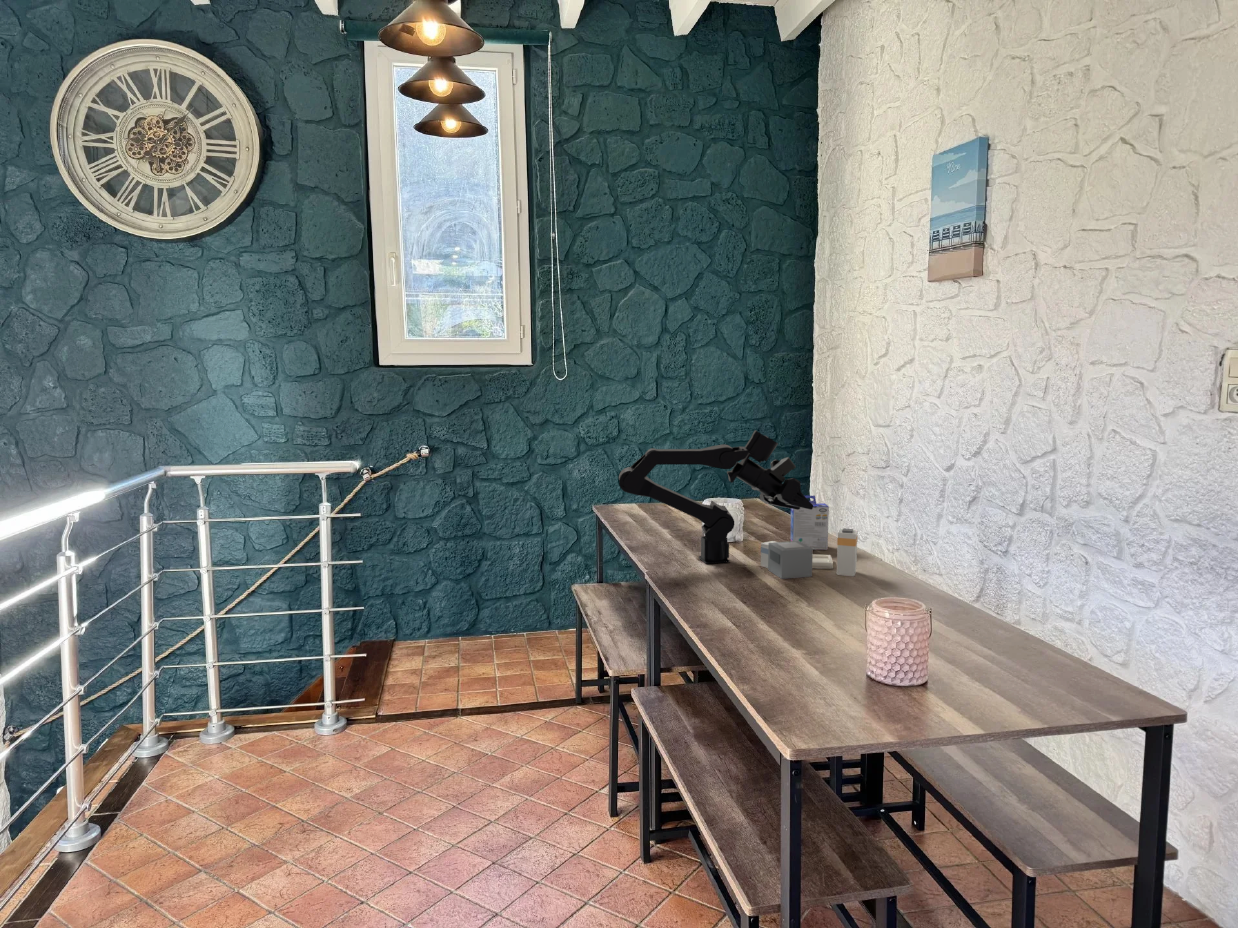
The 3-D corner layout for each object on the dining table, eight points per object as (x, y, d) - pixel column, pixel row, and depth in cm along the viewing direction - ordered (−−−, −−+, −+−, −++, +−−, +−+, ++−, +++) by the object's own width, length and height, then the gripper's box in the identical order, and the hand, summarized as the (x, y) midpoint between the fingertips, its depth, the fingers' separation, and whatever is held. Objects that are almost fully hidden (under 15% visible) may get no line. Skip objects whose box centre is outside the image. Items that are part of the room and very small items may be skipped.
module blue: (772, 569, 205) (772, 546, 205) (760, 565, 209) (760, 543, 208) (784, 567, 208) (785, 544, 207) (772, 563, 211) (773, 540, 210)
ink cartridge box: (824, 545, 229) (825, 494, 227) (828, 550, 224) (830, 498, 222) (789, 545, 230) (790, 494, 227) (792, 550, 224) (794, 498, 222)
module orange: (836, 574, 200) (837, 530, 199) (838, 570, 204) (839, 527, 203) (854, 576, 199) (855, 532, 197) (856, 571, 203) (857, 528, 201)
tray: (800, 567, 207) (800, 561, 207) (798, 559, 215) (798, 553, 214) (833, 568, 205) (833, 563, 205) (830, 560, 213) (830, 554, 213)
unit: (780, 578, 197) (781, 550, 196) (767, 570, 205) (768, 542, 204) (812, 576, 199) (813, 547, 198) (798, 567, 207) (798, 540, 206)
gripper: (783, 447, 203) (835, 480, 204) (760, 452, 221) (808, 483, 222) (761, 485, 201) (813, 518, 203) (740, 487, 220) (787, 518, 221)
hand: (806, 508), depth 212 cm, fingers open, 9 cm apart
